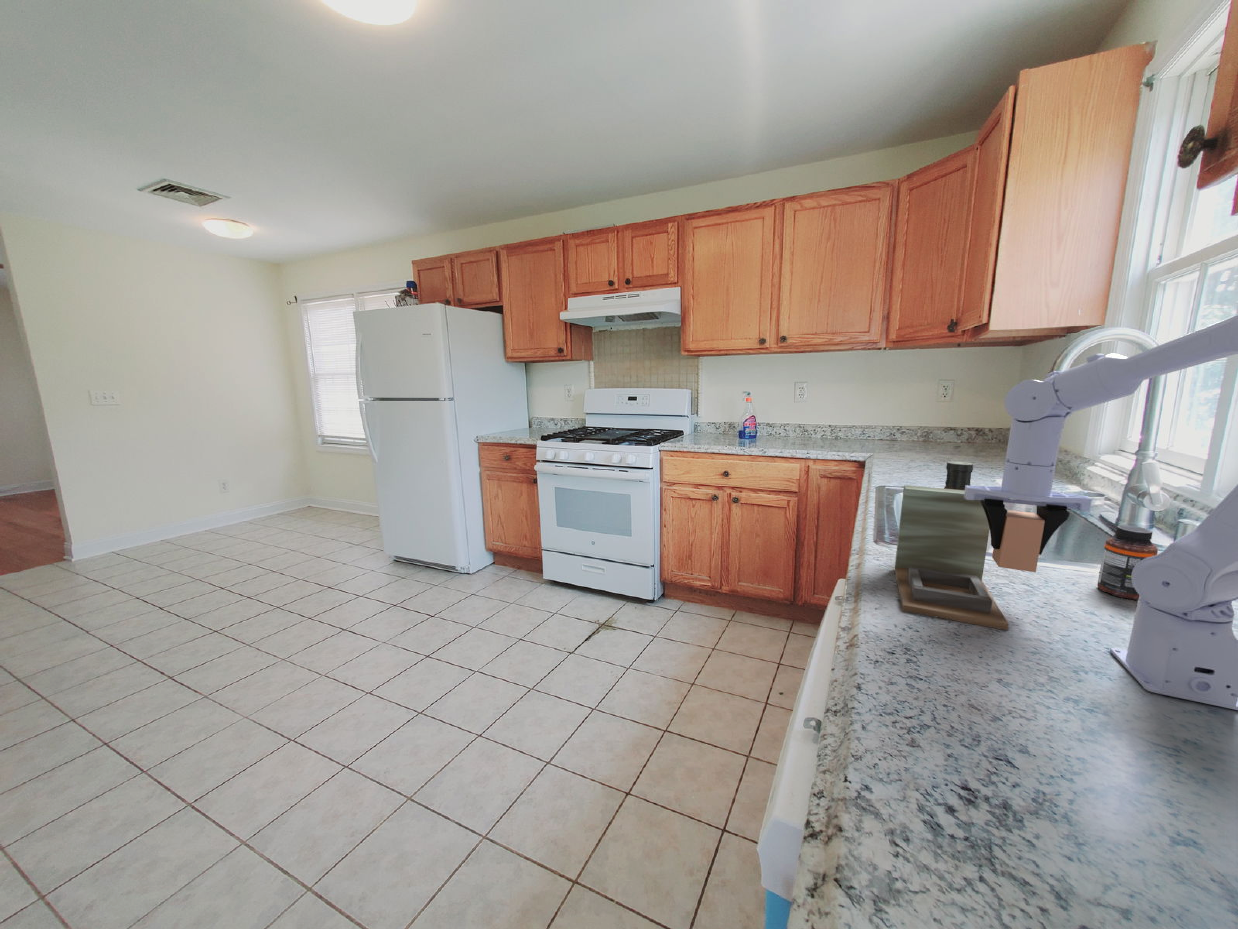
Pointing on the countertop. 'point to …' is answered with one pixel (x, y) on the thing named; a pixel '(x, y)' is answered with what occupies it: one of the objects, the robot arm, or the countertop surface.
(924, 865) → the countertop surface
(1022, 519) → the peg
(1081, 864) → the countertop surface
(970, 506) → the socket stand
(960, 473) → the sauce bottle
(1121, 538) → the supplement bottle
